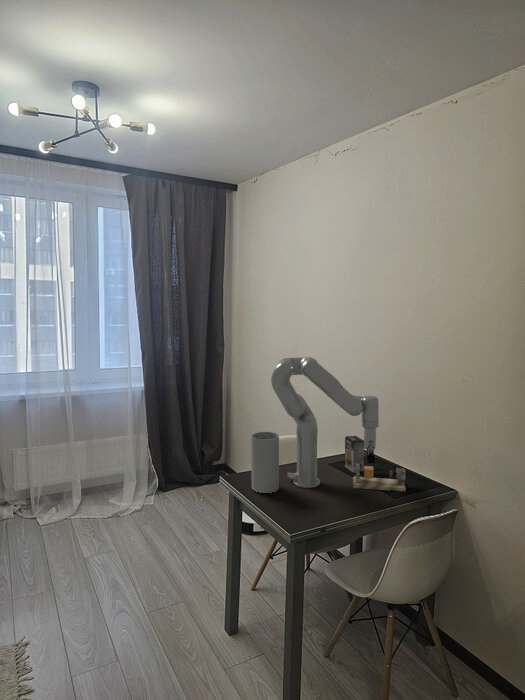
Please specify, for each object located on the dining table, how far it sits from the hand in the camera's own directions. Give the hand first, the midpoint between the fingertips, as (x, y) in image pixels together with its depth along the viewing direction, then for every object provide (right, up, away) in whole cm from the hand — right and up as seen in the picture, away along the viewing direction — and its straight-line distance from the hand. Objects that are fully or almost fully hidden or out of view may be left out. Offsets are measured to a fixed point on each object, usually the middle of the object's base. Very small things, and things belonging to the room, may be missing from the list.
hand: (370, 459), depth 213 cm
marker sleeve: (-1, -8, +1) cm, 8 cm away
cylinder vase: (-49, -13, -3) cm, 51 cm away
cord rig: (+4, -12, +1) cm, 13 cm away
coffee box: (-3, -10, +21) cm, 24 cm away
